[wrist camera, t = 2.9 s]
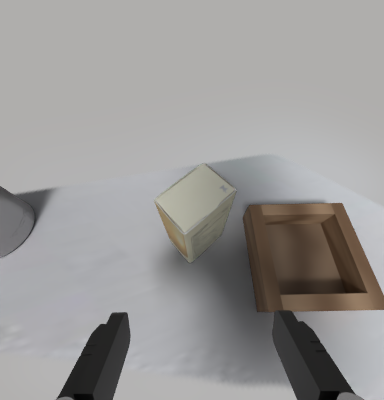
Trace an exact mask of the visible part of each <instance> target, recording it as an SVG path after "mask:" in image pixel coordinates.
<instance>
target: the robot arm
mask: <svg viewBox="0 0 384 400" xmlns="http://www.w3.org/2000/svg"><path fill="white" fill-rule="evenodd" d="M34 219H35V215H34V211H33V209H32V207H31V206H30V205H29V204H27V203H26V202H24V201H23V200H21V199H19V198H18V197H16V196H15V195H13V194H12V193H10V192H8V191H7V190H6V189H4V188H2V187H1V186H0V257H3V256H5V255H7V254H8V253H10V252H12V251H13V250H14V249H16V248H17V247H18V246H19V245H20V244H21V243H22V242H23V241H24V240H25V239H26V238H27V236H28V235H29V233H30V232H31V230H32V228H33V224H34ZM272 335H273V341H274V345H275V347H276V350H277V352H278V355H279V357H280V359H281V362H282V364H283V367H284V369H285V371H286V374H287V376H288V379H289V381H290V383H291V386H292V388H293V391H294V393H295V395H296V398H297V400H364V399H362V398H361V397H359V396H357V395H356V394H355V393H354V392H353V390H352V389H351V387H350V386H349V384H348V383H347V381H346V380H345V378H344V377H343V375H342V374H341V372H340V371H339V369H338V367H337V366H336V364H335V363H334V361H333V360H332V358H331V357H330V355H329V354H328V353H327V352H326V349H325V348H324V346H323V345H322V343H320V340H319V339H318V337H317V336H316V334H315V333H314V331H313V330H312V329H311V328H310V327H309V326H308V325H307V324H305V323H304V322H303V321H300V322H298V321H297V319H296V317H295V316H294V314H293V312H292V311H290V310H276V311H275V314H274V323H273V331H272ZM129 344H130V328H129V320H128V314H127V312H119V313H112V314H111V316H110V318H109V320H108V322H107V324H100V325H99V326H98V327H97V329H96V330H95V331H94V332H93V333H92V334H91V336H90V338H89V340H88V342H87V343H86V346H85V347H84V349H83V351H82V353H81V356H80V357H79V359H78V360H77V362H76V364H75V366H74V368H73V370H72V372H71V374H70V376H69V378H68V379H67V381H66V383H65V385H64V387H63V389H62V391H61V393H60V394H59V396H58V398H57V399H56V400H113V396H114V393H115V390H116V387H117V384H118V380H119V377H120V374H121V371H122V368H123V364H124V361H125V358H126V355H127V351H128V348H129Z"/></svg>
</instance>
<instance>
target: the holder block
mask: <svg viewBox="0 0 384 400" xmlns="http://www.w3.org/2000/svg"><path fill="white" fill-rule="evenodd" d="M243 223H244V230H245V236H246V242H247V249H248V255H249V261H250V268H251V274H252V280H253V287H254V293H255V299H256V306H257V312H275V311H276V310H290V311H292V312H295V311H345V310H384V295H383V293H382V291H381V288H380V286H379V284H378V282H377V279H376V277H375V275H374V273H373V271H372V268H371V266H370V264H369V262H368V259H367V257H366V255H365V253H364V251H363V248H362V246H361V244H360V242H359V239H358V237H357V235H356V233H355V231H354V228H353V226H352V224H351V222H350V219H349V217H348V215H347V213H346V210H345V208H344V206H343V204H342V203H321V204H271V205H249V206H248V208H247V210H246V212H245V214H244V216H243Z"/></svg>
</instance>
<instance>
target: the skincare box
mask: <svg viewBox="0 0 384 400" xmlns="http://www.w3.org/2000/svg"><path fill="white" fill-rule="evenodd" d="M236 191H237V189H236V188H235V187H234V186H232V185H231V184H230V183H229V182H228V181H226V180H225V179H224V178H223V177H222V176H221V175H219V174H218V173H217V172H216V171H215V170H213V169H212V168H211V167H209V166H208V165H207V164H206V163H202V164H201V165H199V166H198V167H196V168H195V169H193V170H192V171H190V172H189V173H188V174H186V175H185V176H184V177H182V178H181V179H179V180H178V181H177V182H175V183H174V184H173V185H172V186H170V187H169V188H168V189H166V190H165V191H164V192H163V193H161V194H160V195H159V196H158V197H156V198H155V199H154V202H155V204H156V207H157V209H158V211H159V214H160V216H161V219H162V221H163V224H164V226H165V229H166V231H167V233H168V236H169V238H170V241H171V242H172V243H173V245H174V246H175V247H176V248H177V249H178V251H179V252H180V253H181V254H182V256H183V257H184V258H185V259H186V260H187V261H188V262H189V263H192V262H193V261H194V260H195V259H196V258H197V257H199V256H200V255H201V254H202V253H203V252H204V251H205V250H206V249H207V248H208V247H209V246H210V245H212V244H213V243H214V242H215V241H216V240H217V239H218V238H219V237H220V236H221V234H222V232H223V229H224V226H225V223H226V220H227V217H228V214H229V211H230V209H231V206H232V203H233V200H234V197H235V194H236Z"/></svg>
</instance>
